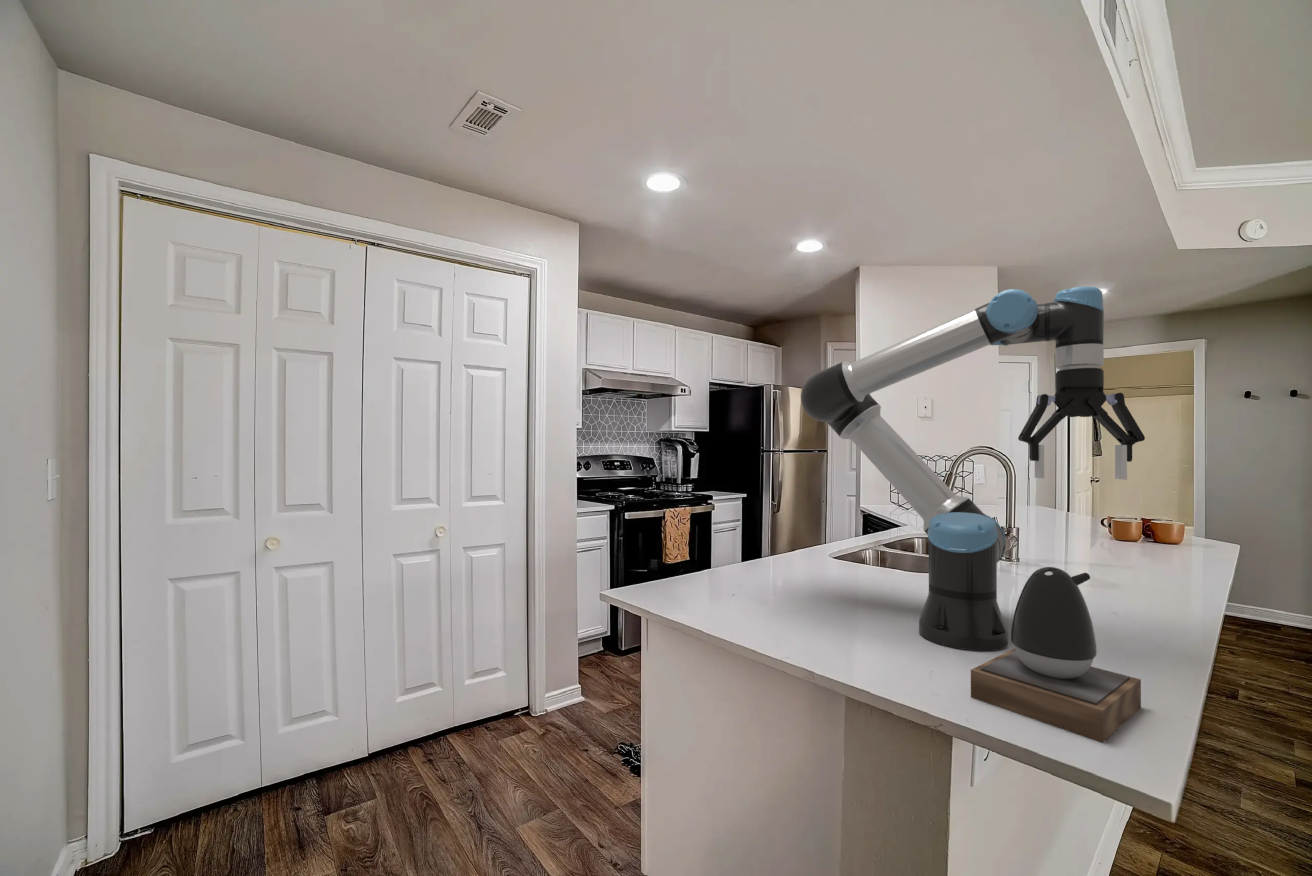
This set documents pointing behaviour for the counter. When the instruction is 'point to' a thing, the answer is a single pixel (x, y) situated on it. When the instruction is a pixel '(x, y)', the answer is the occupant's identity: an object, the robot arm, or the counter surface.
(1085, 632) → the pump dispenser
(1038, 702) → the walnut riser
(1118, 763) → the counter surface
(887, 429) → the robot arm
